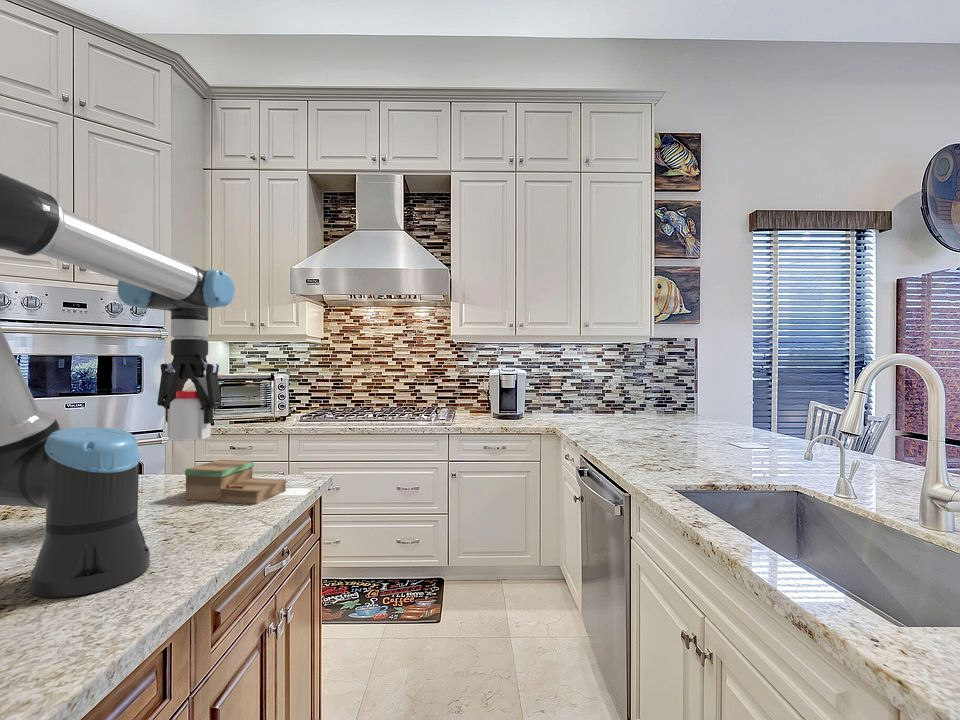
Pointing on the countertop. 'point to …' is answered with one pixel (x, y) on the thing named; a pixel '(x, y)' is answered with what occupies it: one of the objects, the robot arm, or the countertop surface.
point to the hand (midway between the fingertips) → (189, 436)
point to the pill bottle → (185, 416)
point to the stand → (230, 483)
